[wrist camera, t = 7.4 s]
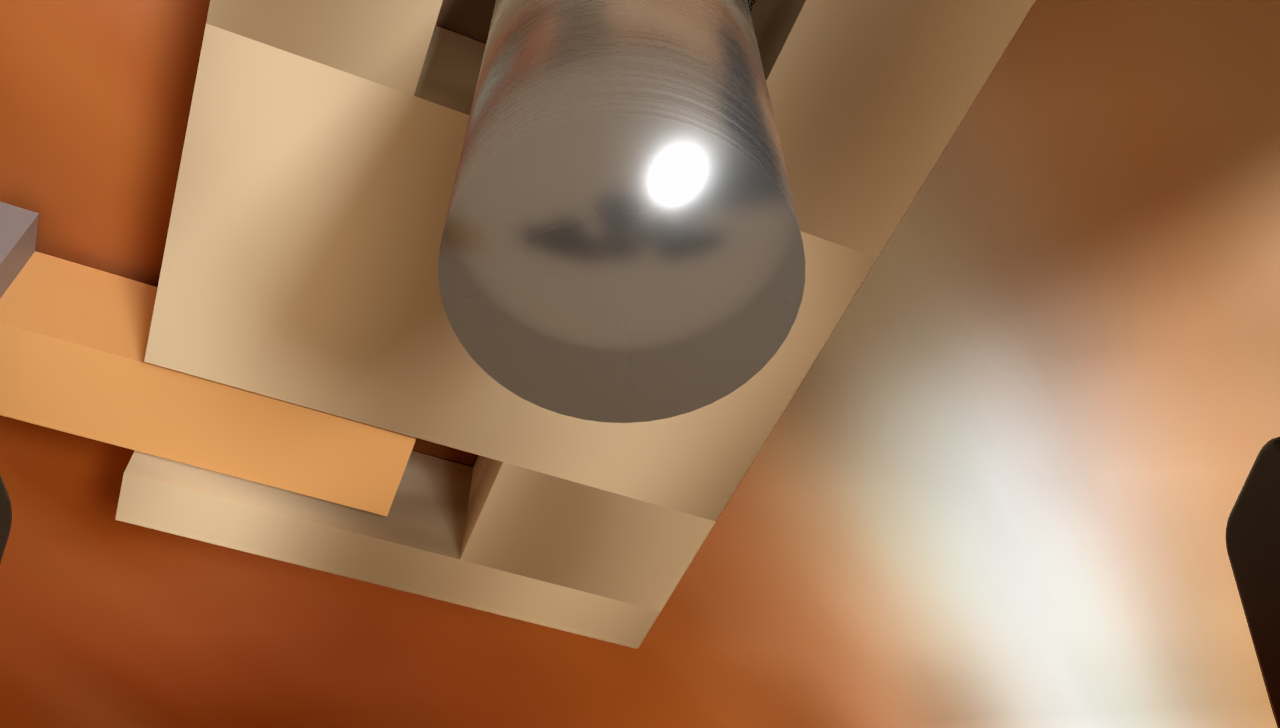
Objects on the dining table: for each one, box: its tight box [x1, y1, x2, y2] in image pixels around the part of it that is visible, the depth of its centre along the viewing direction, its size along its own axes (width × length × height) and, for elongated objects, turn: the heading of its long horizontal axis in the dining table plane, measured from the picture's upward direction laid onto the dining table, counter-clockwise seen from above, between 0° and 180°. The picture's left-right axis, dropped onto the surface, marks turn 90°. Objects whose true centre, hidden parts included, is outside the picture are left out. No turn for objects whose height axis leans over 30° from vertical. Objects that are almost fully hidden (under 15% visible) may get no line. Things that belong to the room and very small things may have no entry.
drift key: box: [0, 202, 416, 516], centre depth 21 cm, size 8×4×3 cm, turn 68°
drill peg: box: [438, 0, 805, 423], centre depth 14 cm, size 3×3×9 cm
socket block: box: [115, 0, 1036, 649], centre depth 19 cm, size 10×15×2 cm, turn 158°
